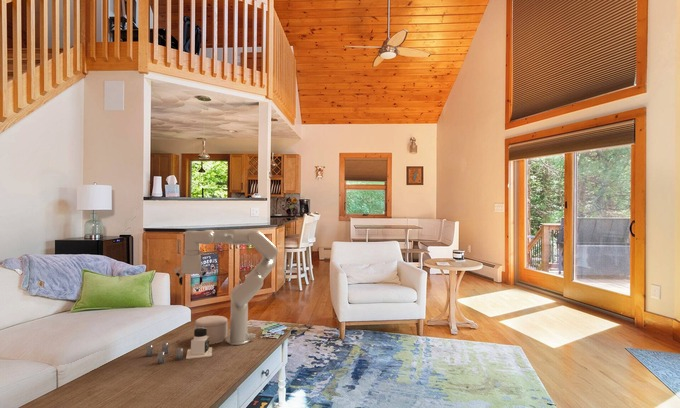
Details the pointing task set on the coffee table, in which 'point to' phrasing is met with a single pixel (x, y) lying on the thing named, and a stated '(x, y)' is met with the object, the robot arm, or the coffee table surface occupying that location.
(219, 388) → the coffee table surface
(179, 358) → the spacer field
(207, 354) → the pad
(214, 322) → the container
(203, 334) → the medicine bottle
